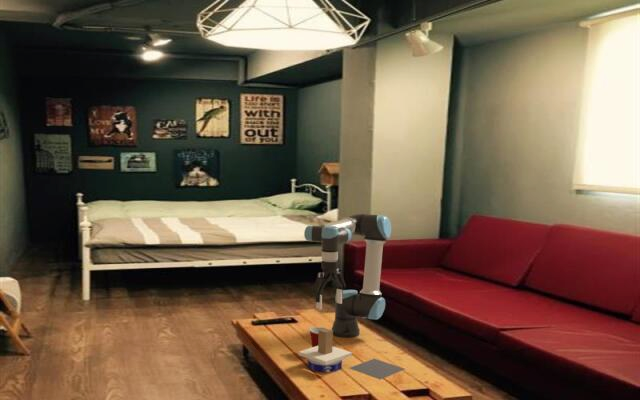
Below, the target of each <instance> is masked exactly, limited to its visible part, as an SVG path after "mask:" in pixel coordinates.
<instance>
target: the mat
mask: <svg viewBox="0 0 640 400" xmlns="http://www.w3.org/2000/svg"><path fill="white" fill-rule="evenodd" d="M349 369H350V370H353V371H355V372H358V373H361V374H365V375H367V376H370V377H372V378H375V379H378V380H383V379H385V378H387V377H390V376H392V375H394V374H397V373H400V372H402V371H404V370H406V368H404V367H401V366H398V365H395V364H392V363H389V362H385V361H383V360H380V359H377V358H372V359H369V360H366V361H363V362H361V363H359V364H356V365H353V366H351V367H349Z"/></svg>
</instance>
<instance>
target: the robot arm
mask: <svg viewBox="0 0 640 400" xmlns="http://www.w3.org/2000/svg"><path fill="white" fill-rule="evenodd" d="M303 235H304V239H305V240H306V241H308V242H312V243H313V242H314V243H315V242H316V243H321V269H322V272H317V275H316V280H315V283H314V284H313V285H314V286H313V289H312V292H311V293H312V295H315V303H316V304H315V305H316V306H315V307H316V309H317V310H322V309H323V295H322V292H323V291H324V289H325V287H326V286H327V284H328V283H329V282H331V281H333V283H334V284H335V285H336V293H335V299H334V301H335V303H334V304H335V305H334V309H335V311H334V321H333V324H332V326H331V330H333V337H338V338H347V339H349V338H356V337H358V336H360V334H361V333H360V331H361V330H360V327H359V324H358V319H357V318H358V317H359V318H363V319H369V320H379V319H380V318H381V317H382V316H383V313H384V311H385V309H386V299H385V298H384V297H382V295H383V293H382V292H381V290H380V284H381V275H382V274H381V273H382V263H383V250H384V249H383V248H384V244H385V243H387V239H390V238H391V235H392V223H391V220H390V219H389V217H387V216H386V215H380V214H364V213H358V214H357V213H356V214H352V215H348V216H344V217H343V218H340V220H336V221H332V222H328V223H324V224H319V225H306V227H305V229H304V234H303ZM352 235H355V236H360V237H363V240H364V241H365V243H366V248H365V258H364V271H363V283H362V289H361V290H360V291H359V293H358V290H356V289H345V288H346V287H347V284H346V282H345V281H346V280H345V279H344V276H343V274H342V273H343V271H342V269H341V268H339V261H338V260H339V246H340V245H341V246H342V245H346V244H347V243H348V242H350V241H351V239H352Z"/></svg>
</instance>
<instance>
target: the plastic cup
mask: <svg viewBox="0 0 640 400" xmlns="http://www.w3.org/2000/svg"><path fill="white" fill-rule="evenodd" d="M325 328H326V329H328V328H327V327H321V326H313V327H310V328H309V329H308V330H309V334H310V340H311V348H312V347H315V346H318V337H319V330H321V329H325Z"/></svg>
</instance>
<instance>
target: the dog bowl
mask: <svg viewBox="0 0 640 400" xmlns="http://www.w3.org/2000/svg"><path fill="white" fill-rule="evenodd" d="M342 363H343V359H342V360H339V361H336V362H333V363H330V364H328V365H324V364H322V363H319V362H316V361H313V360H311V359H308V358H307V367H308V368H309V370H311V371H313V372H314V371H315V372H319V373H333V372H337V371H339V370H341V369H342Z"/></svg>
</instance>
